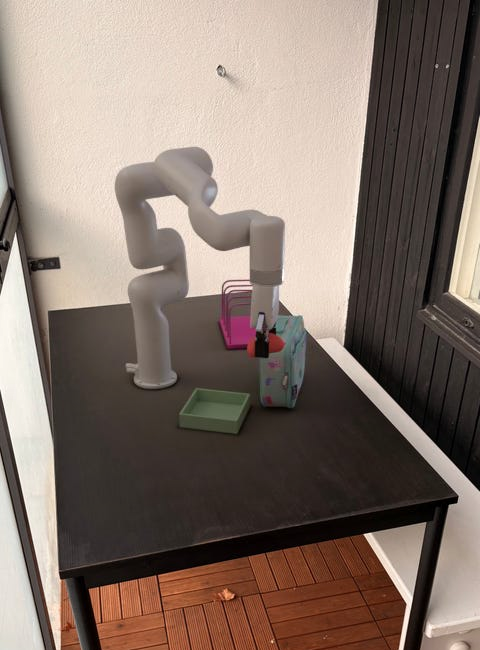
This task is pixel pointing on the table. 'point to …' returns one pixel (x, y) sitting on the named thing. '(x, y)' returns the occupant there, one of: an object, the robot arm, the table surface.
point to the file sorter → (236, 321)
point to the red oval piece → (274, 345)
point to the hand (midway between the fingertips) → (265, 349)
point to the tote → (215, 410)
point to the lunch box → (284, 365)
